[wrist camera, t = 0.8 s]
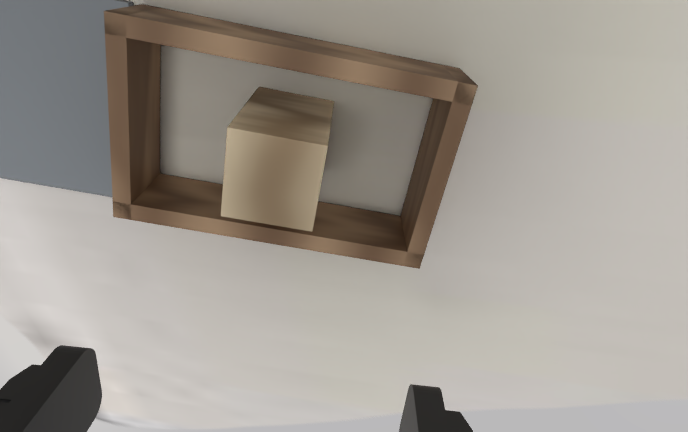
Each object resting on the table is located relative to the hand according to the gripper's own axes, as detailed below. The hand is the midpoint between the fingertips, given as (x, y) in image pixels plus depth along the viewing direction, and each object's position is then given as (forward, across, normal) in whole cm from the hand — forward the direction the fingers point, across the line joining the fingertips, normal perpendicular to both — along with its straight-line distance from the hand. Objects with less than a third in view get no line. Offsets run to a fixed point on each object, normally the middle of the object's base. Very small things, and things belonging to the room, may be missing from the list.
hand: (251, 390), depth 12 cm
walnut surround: (+19, +2, -1) cm, 20 cm away
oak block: (+19, +2, -1) cm, 20 cm away
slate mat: (+19, +17, -2) cm, 25 cm away
